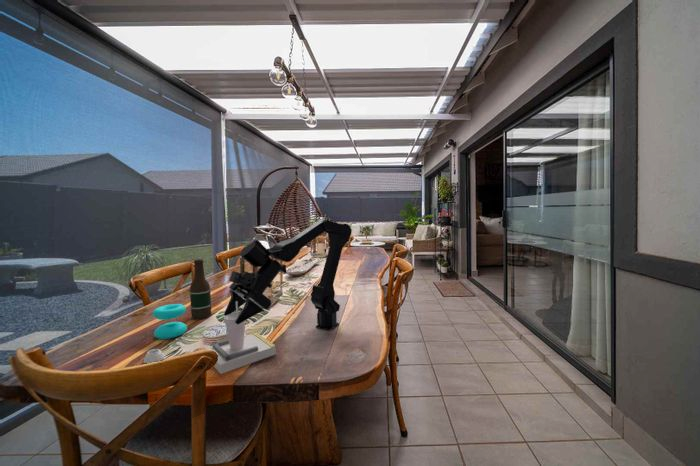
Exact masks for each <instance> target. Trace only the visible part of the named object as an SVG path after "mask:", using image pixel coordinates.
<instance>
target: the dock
mask: <svg viewBox="0 0 700 466" xmlns="http://www.w3.org/2000/svg"><path fill="white" fill-rule="evenodd" d="M205 349H212V350H215V351H216V352H217V353H218V361H217V363H216V365H215V366H213V367H214V369H215V370H216V371H217V372H218V374H220V375H222V374H225V373H227V372H231V371H233V370H236V369H239V368H242V367H244V366H247V365H250V364H253V363H256V362H258V361H261V360H264V359H266V358H270V357H273V356H275V355H277V352H276V351H277V350H276V349H277V348H276V345H275V344H274V343H272V342H271V341H269V339H266V338H265V337H263V336H262V335H261V334H259V333H258V332H252V333H251V334H248V335H244V346H243V348H242V349H240V350H231V349H230V345H229V340H228V338H227V339H224V340H220V341H217V342H213V343H212V344H211V345H209V346H206V347H204V350H205Z"/></svg>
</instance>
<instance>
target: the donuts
mask: <svg viewBox="0 0 700 466" xmlns="http://www.w3.org/2000/svg"><path fill="white" fill-rule="evenodd" d="M186 310H187V309H186V305H184V304H183V303H182V304H181V303H171V304H165V305H162V306H159V307H157V308H155V309H154V310H153V311H152V315H153V317H154V318H155V319H158V320H161V321H167V320H172V319H176V318H179V317H181V316H182V315H184V313H185V312H186ZM187 329H188V326H187V325H186V324H185V323H184V322H181V321H171V322H167V323H164V324H161V325H159V326H158V327H157V328H155V330H154V332H153V336H154V337H155V338H157V339H159V340H167V339H168V340H169V339H172V338H173V339H174V338H177V337H180V336H182V335H183V334H185V333H186V332H187Z"/></svg>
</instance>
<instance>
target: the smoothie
mask: <svg viewBox="0 0 700 466" xmlns="http://www.w3.org/2000/svg"><path fill="white" fill-rule="evenodd" d="M240 313H241V311H240V312H239V308H238V301H236V310H235V312H232V313H231V314H228V315H226V316H225V315H224V317H223V322H224V323H225V329H226V333H227V339H228V340H229V345H230V349H231V350H240V349H242V348H243V346H244V336H245V333H246V321H247V320H245V321H243V322H242V323H240V324H236V323H235V321H236V320H237V318H238V316H239V315H240Z"/></svg>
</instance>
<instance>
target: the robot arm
mask: <svg viewBox="0 0 700 466" xmlns="http://www.w3.org/2000/svg"><path fill="white" fill-rule="evenodd" d="M352 232H353V231H352V228H351V226H350V224H348V223H341V222H340V223H339V222H335V221H333V220H332V221H331V220H329V219H322V218H321V219H318V220H317V221H316V222H314V223H313V224H311V225H310V226H308V227H307V228H305V229H304V230H302V231H301V232H299V233H298V234H297V235H296V234H295V236H294V237H291V238H288V239H285V240H283V241H280V242H278V243H275V244H274V245H273V246H272V247H271V248H266V247H265V245H263V244H262V243H261V241H260V240H259V239H254V240H253V241H252V242H250V243H248V244H247V245H245V246H244V247H243V248H242V249H241V251H240V254H239V255H240V257H241V258H243V259H244V260H245V261H246V262H247V263H248V264H249V265H250V266H252V267H253V268H258V269H257V270H256V272H249V271H243V272H238V271H235V270H232V272H231V275H230V276H229V279H228V281H229V282H232V284H231V285H230V286H229V292H230V300H229V301H228V304H227V307H226V308H225V311H224V313H223V315H224V317H225V316H226V315H228V314H232V313H235V312H236V301H238V309H239V308H240V307H241V306H243V305H244V304H245V305H244V307H243V308H242V310H241V311H240V315H239V316H238V318H237V320H236V321H235V323H236V324H240V323H242V322H243V321H245V320H246V321H247V320H249V319H250V318H252V317H254V316H256V315H257V314H260V313H261V312H265V311H268V310H270V307H271V306H272V300H271V299H270V298H268V297H267V296H266V295H265V294H264V293H265V291H266V290H267V289H268V288H269V289H271V288H272V286H273V285H272V284H271V283H272V282H273V281H274V280H275V278H276V277H277V276H278V275H279V274H280V273H283V274H287V273H288V271H287V265H286V264H281V263H280V262H285V263H290V262H292V261H293V260H294V259H296V257H297V256H298V255H299V254H300V252H301V250H302V249H303V248H304V247H305V246H306V245H308V244H309V243H311V242H312V241H314V240H315V239H316V238H317V237H319V236H321V235H322V234H324V233H325V234H328V241H329V248H328V252H327V255H326V258H325V263H324V267H323V270H322V274H321V278H320V281H319V282H318V284H317V285H316V284H313V286H312V289H311V293H310V295H309V296H310V301H311V303H312V304H313V305H314V308H315V309H316V310H317V313H316V317H317V318H316V322H317V323H316V325H315V328H317V329H323V330H327V331H331V330H333V329H334V328H336V327H337V326H339V324H340V323H339V322H337V321H338V320H337V317H338V316H337V312H340V308H341V305H340V303H338V302H337V301H336V300H335V297H336V292H335V289H334V288H335V287H334V283H335V279H336V275H337V272H338V268H339V263H340V259H341V256H342V252H343V248H344V247H345V246H346V245H347V243H348V242H349V240H350V238H351V235H352ZM272 258H273V259H272ZM279 261H280V262H279Z"/></svg>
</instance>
